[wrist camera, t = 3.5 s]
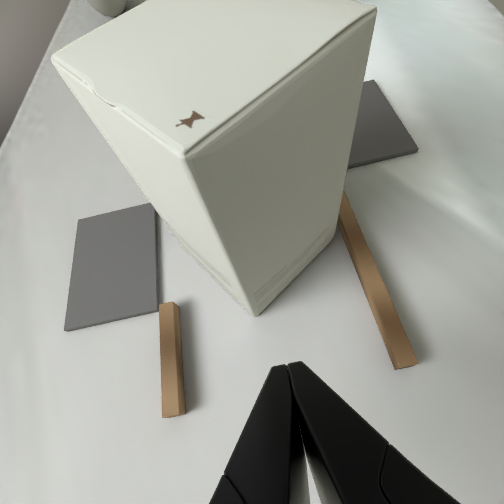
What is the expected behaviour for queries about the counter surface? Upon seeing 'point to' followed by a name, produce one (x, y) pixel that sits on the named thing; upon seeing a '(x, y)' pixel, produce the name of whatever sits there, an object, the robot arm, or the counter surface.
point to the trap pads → (145, 231)
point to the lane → (372, 287)
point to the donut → (108, 7)
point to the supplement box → (232, 124)
